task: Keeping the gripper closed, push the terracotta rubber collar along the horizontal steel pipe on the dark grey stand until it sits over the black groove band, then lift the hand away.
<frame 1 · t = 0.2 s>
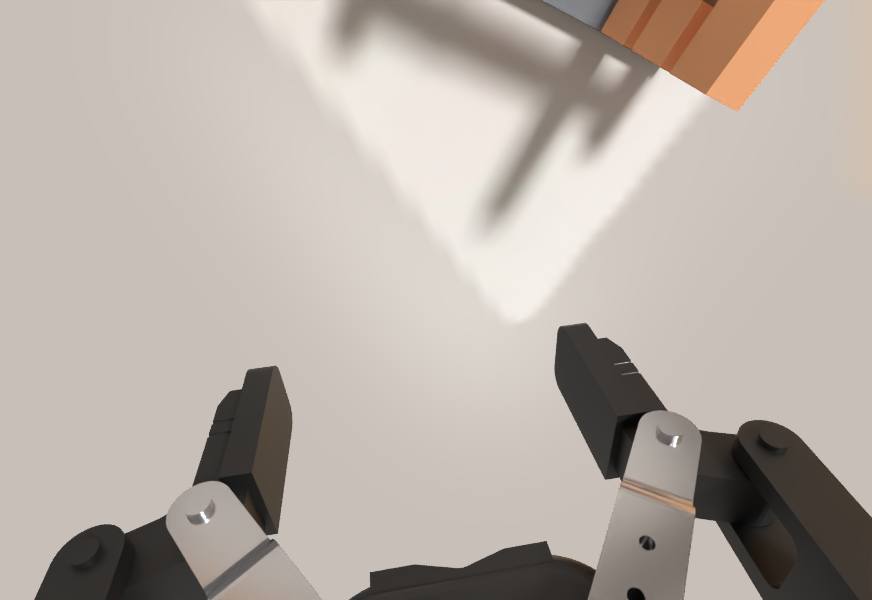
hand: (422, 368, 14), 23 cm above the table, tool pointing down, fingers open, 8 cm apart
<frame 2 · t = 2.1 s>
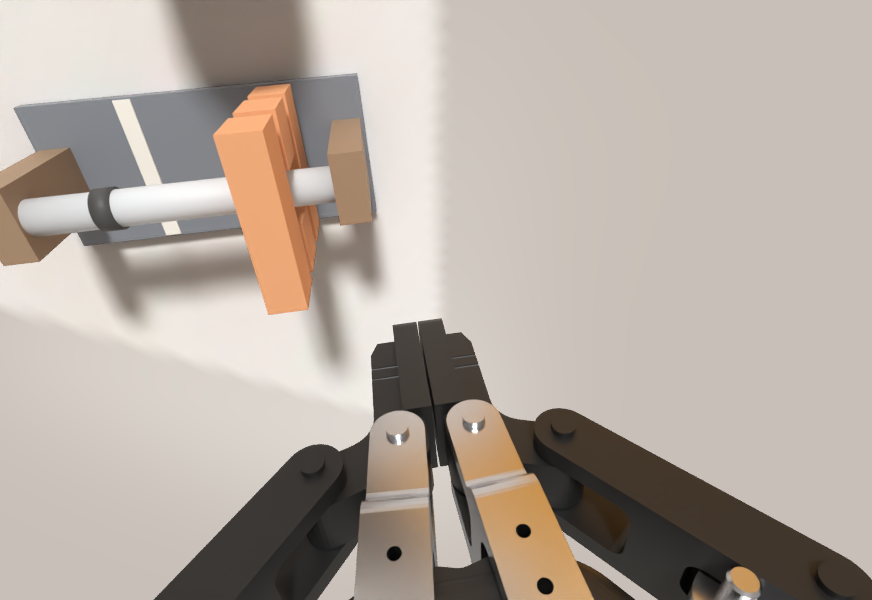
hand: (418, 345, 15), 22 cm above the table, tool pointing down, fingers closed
pipe stand: (216, 161, 33), on the table
collar: (280, 190, 27), point 7 cm above the table, slide at 0.0 cm
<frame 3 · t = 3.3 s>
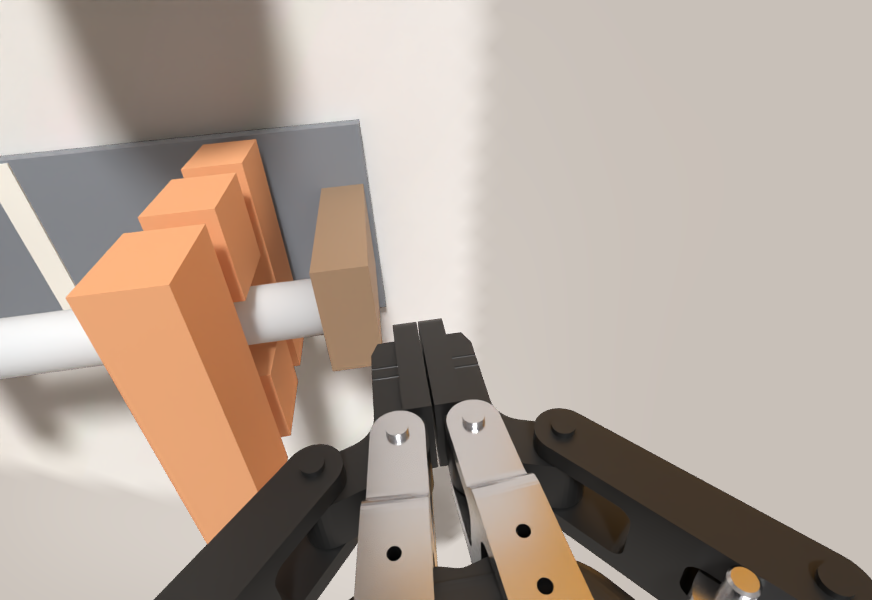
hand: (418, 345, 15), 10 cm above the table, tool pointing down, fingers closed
pipe stand: (153, 244, 22), on the table
collar: (235, 317, 17), point 7 cm above the table, slide at 0.0 cm
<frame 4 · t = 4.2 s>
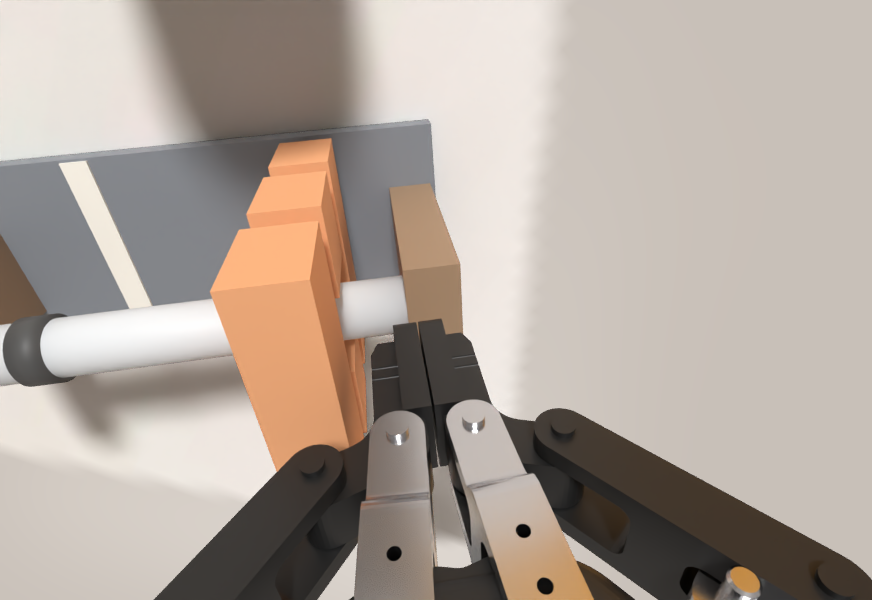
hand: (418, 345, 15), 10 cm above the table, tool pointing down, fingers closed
pipe stand: (218, 242, 23), on the table
collar: (319, 314, 17), point 7 cm above the table, slide at 0.0 cm, touching gripper
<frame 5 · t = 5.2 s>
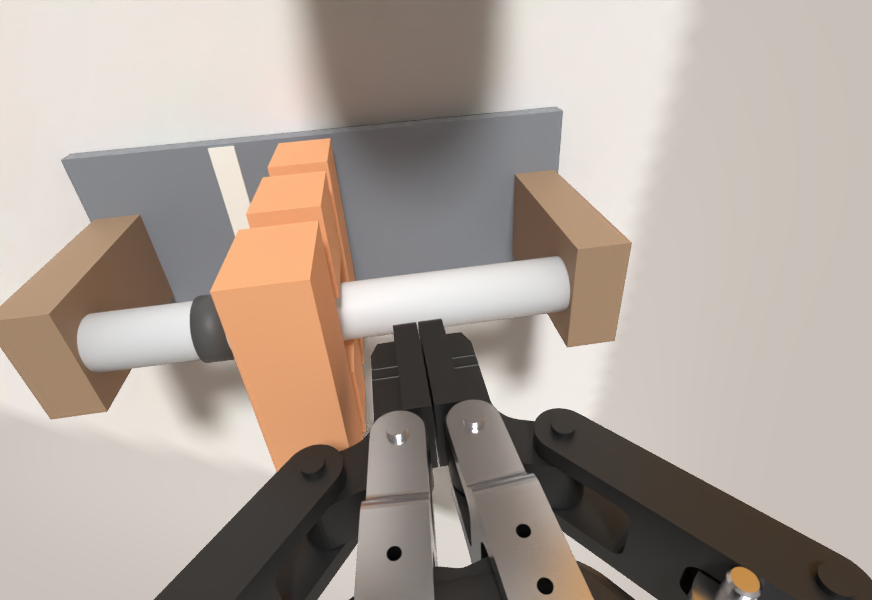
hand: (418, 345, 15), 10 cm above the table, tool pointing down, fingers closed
pipe stand: (341, 228, 23), on the table
collar: (318, 314, 17), point 7 cm above the table, slide at 5.7 cm, touching gripper
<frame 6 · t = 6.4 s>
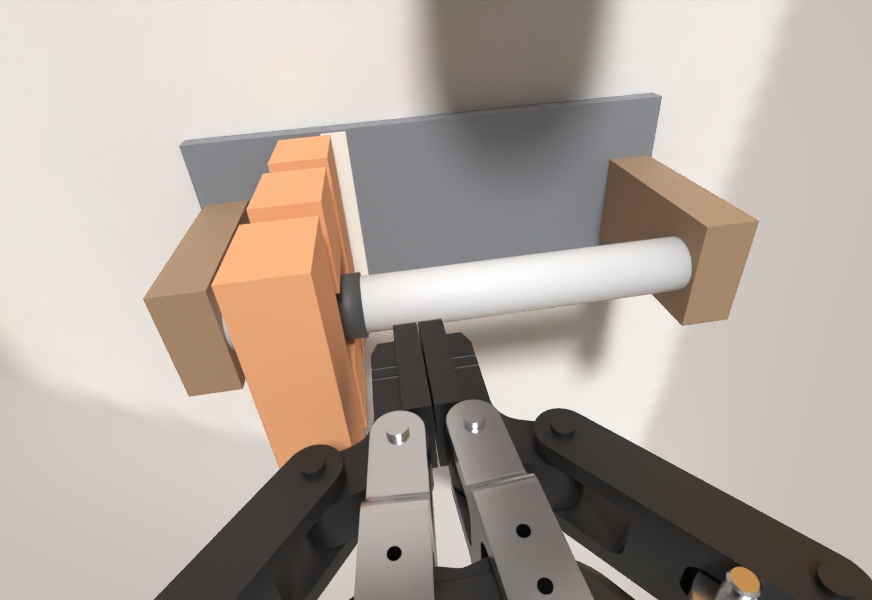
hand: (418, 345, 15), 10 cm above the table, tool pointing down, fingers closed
pipe stand: (435, 214, 23), on the table
collar: (319, 310, 17), point 7 cm above the table, slide at 10.1 cm, touching gripper
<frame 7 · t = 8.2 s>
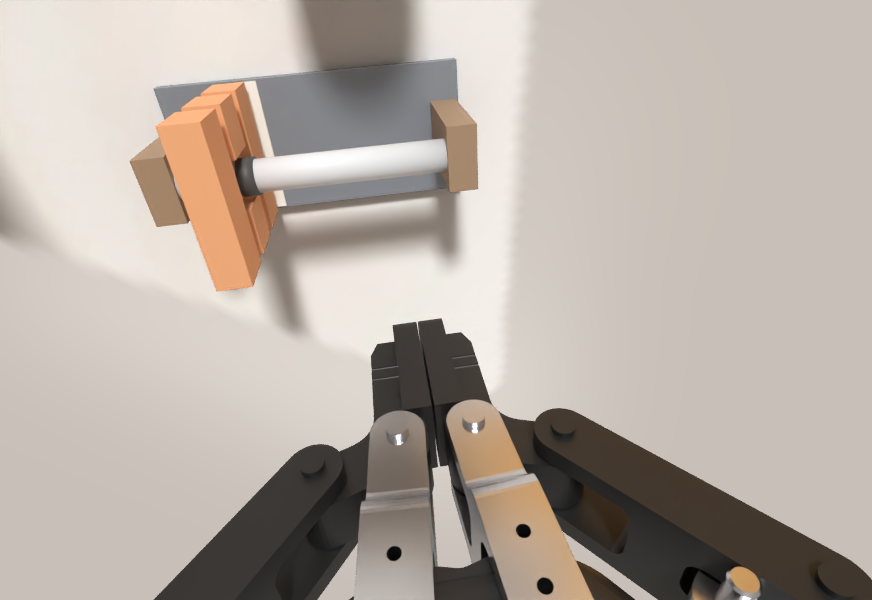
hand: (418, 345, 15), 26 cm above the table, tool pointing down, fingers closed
pipe stand: (322, 139, 36), on the table
collar: (231, 178, 30), point 7 cm above the table, slide at 10.1 cm
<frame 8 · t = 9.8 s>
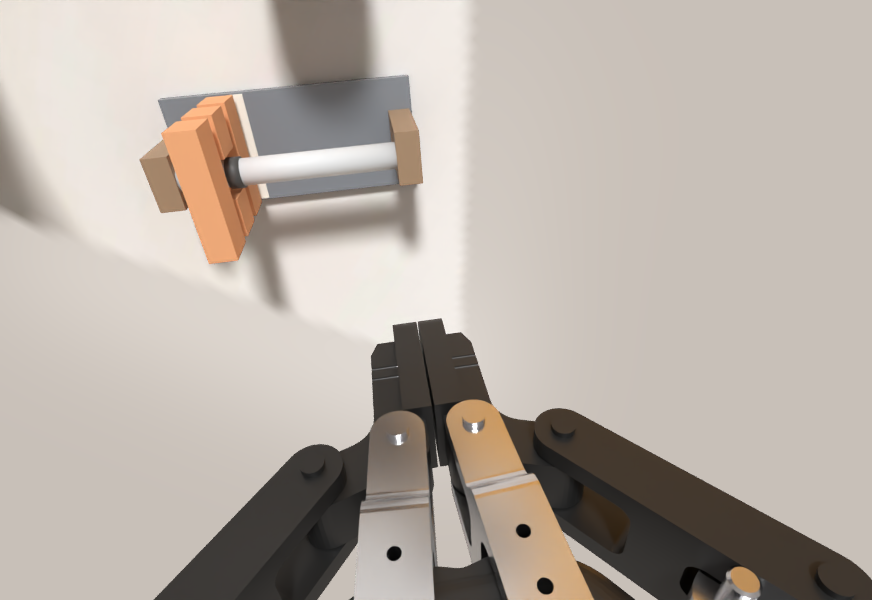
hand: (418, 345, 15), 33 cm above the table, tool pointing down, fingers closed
pipe stand: (298, 141, 43), on the table
collar: (221, 174, 37), point 7 cm above the table, slide at 10.1 cm
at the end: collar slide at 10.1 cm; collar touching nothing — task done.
